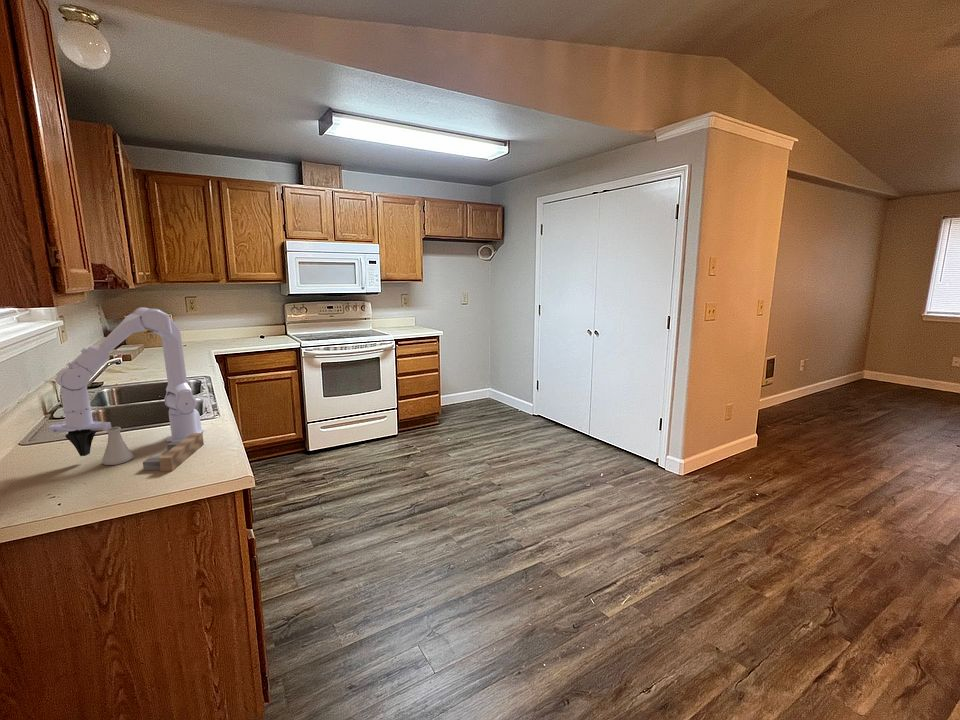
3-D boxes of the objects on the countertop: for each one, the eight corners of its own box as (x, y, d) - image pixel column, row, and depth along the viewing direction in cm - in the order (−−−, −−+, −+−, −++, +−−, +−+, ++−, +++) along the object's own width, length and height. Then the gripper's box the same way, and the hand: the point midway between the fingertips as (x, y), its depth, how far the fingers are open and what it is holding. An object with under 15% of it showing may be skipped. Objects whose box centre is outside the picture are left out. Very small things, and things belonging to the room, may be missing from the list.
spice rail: (176, 445, 142) (174, 433, 141) (203, 444, 143) (202, 432, 142) (140, 472, 123) (138, 459, 122) (172, 471, 124) (170, 457, 123)
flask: (140, 457, 133) (135, 425, 131) (114, 467, 126) (109, 433, 124) (121, 454, 135) (117, 423, 133) (96, 464, 128) (90, 431, 126)
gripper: (36, 414, 121) (45, 461, 123) (96, 412, 123) (104, 458, 126) (56, 407, 128) (64, 452, 130) (112, 405, 130) (119, 449, 133)
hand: (85, 454), depth 129 cm, fingers closed
